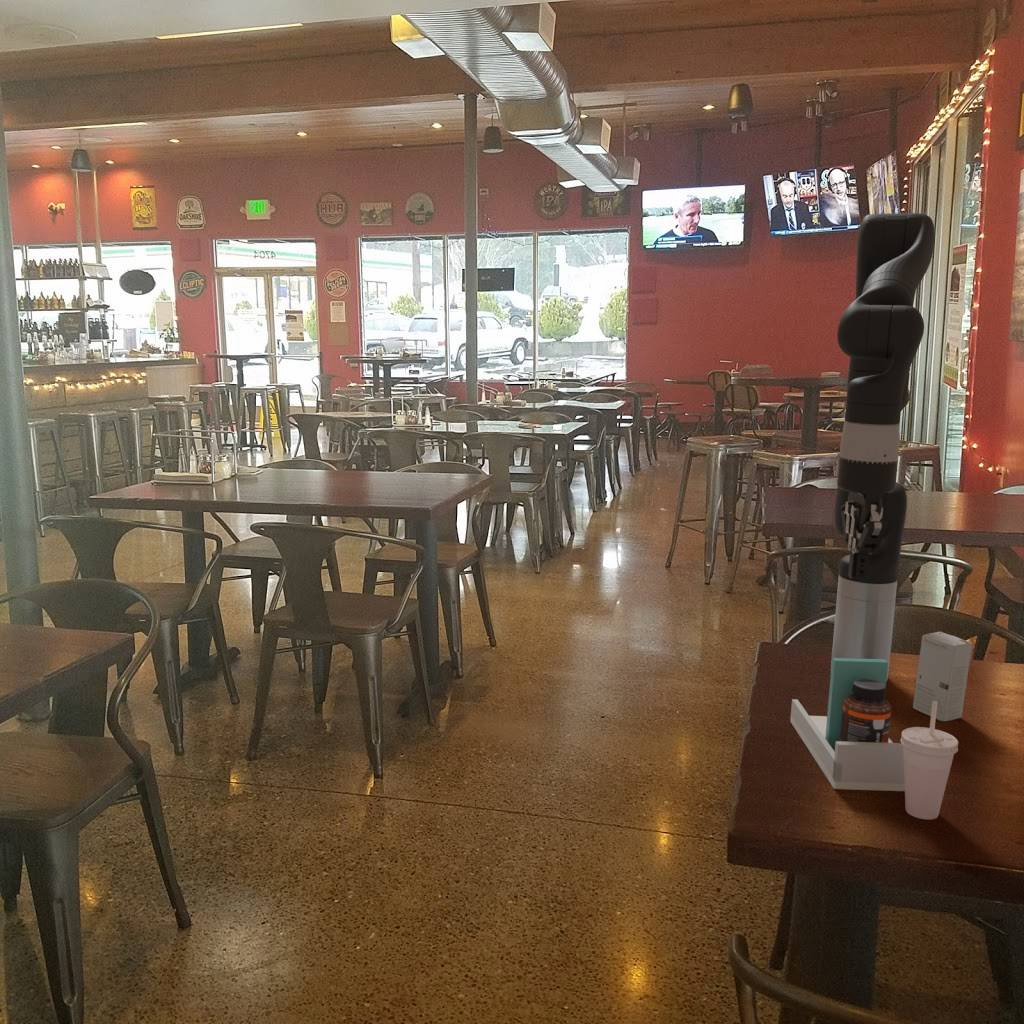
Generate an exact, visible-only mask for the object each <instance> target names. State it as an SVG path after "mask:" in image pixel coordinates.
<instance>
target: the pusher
mask: <svg viewBox="0 0 1024 1024" xmlns="http://www.w3.org/2000/svg"><path fill="white" fill-rule="evenodd" d="M831 658H832V657H831ZM887 669H888V662H887V661H886V660H885V659H854V658H832V667H831V666H830V670H831V672H830V677H829V678H830V680H829V693H828V702H827V713H826V715H827V725H826V737H825V739H826V740H827V742H828V743H829V745H830V746H831V747H832V749H833V750H834V752H835V743H836V741H840V735H841V723H842V712H843V703H844V700H845V698H846V697H847V696H848V695H850V694H853V691H852V688H853V682H854V681H855V680H858V679H869V680H875V681H878V682H881V683H883V684H884V685H885V691H886V688H887V681H888V680H887ZM886 680H887V681H886ZM884 697H885V698H886V695H885V696H884Z"/></svg>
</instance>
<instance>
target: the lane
mask: <svg viewBox="0 0 1024 1024" xmlns="http://www.w3.org/2000/svg"><path fill="white" fill-rule="evenodd" d="M790 710H791V711H790V723H791V724H792V727H793V728H794V730H795V731H796V732H797V735H798V736H799V737H800V738H801V740H802V742H803V744H805V745H804V746H805V747H807V749H808V750H809V751H808V752H809V753H810V754H811V756H812V757H813V758H814V760H815V762H816V763H817V765H818V766H819V768H820V770H821V771H822V773H823V774H824V776H825V777H826V779H827V780H828V782H829V784H830V786H831V787H832V788H833V790H850V791H851V790H853V791H854V790H859V791H860V790H861V791H885V792H889V791H891V792H905V779H904V752H903V744H902V743H901V742H900V743H899V742H893V741H892V740H891V739H890V737H889V739H888V743H875V742H842V741H836V743H835V752H834V750H833V749H832V747H831V746H830V745H829V743H828V742H827V740H826V739H825V737H826V725H827V716H826V715H825V716H824V715H809V714H808V712H807V711H806V709H805V708H804V706H803V705H802V704H801V703H800V701H799V700H798V699H797V698H796V699H793V698H792V699H791V709H790Z"/></svg>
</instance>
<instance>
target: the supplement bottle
mask: <svg viewBox="0 0 1024 1024" xmlns="http://www.w3.org/2000/svg"><path fill="white" fill-rule="evenodd" d="M852 691H853V694H850V695H848V696H847V697H846V698H845V700H844V703H843V712H842V723H841V735H840V741H842V742H875V743H888V739H889V738H890V728H891V717H892V706H891V705H892V704H891V703H890V701H889V700H887V699H886V690H885V685H884V684H883V683H881V682H878V681H875V680H869V679H858V680H855V681H854V682H853V688H852ZM884 696H885V697H884Z"/></svg>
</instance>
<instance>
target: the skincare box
mask: <svg viewBox="0 0 1024 1024" xmlns="http://www.w3.org/2000/svg"><path fill="white" fill-rule="evenodd" d="M972 649H973V642H970V641H968V640H965V639H962V638H960V637H957V636H955V635H951V634H948V633H945V632H943V631H936V632H929V633H926V634H923V635H922V636H921V643H920V651H919V657H918V658H919V659H918V666H917V672H916V673H917V674H916V680H915V687H914V693H913V695H914V696H913V703H912V708H913V709H914V710H916V711H918V712H920V713H922V714H925V715H927V716H929V717H931V711H932V702H933V701H937V712H936V720H938V721H940V722H949V721H953V720H957V719H961V718H962V716H963V709H964V704H965V703H964V702H965V696H966V691H967V682H968V675H969V669H970V663H971V655H972Z"/></svg>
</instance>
